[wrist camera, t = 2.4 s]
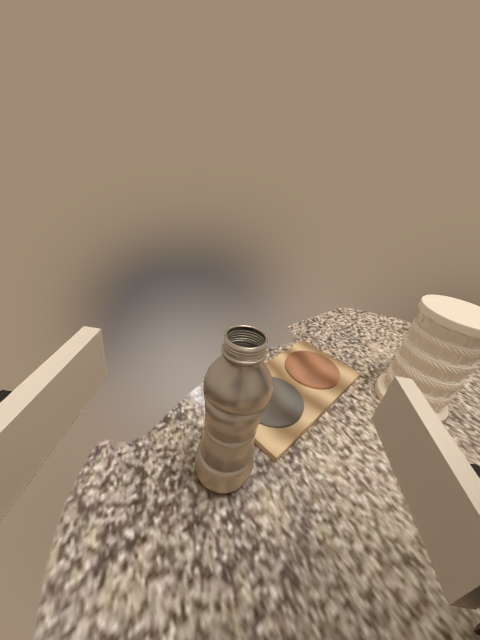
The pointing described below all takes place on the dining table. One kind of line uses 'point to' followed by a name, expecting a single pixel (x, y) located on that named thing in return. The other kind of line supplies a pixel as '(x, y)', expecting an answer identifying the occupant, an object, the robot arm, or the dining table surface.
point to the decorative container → (437, 351)
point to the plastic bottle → (233, 409)
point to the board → (299, 395)
